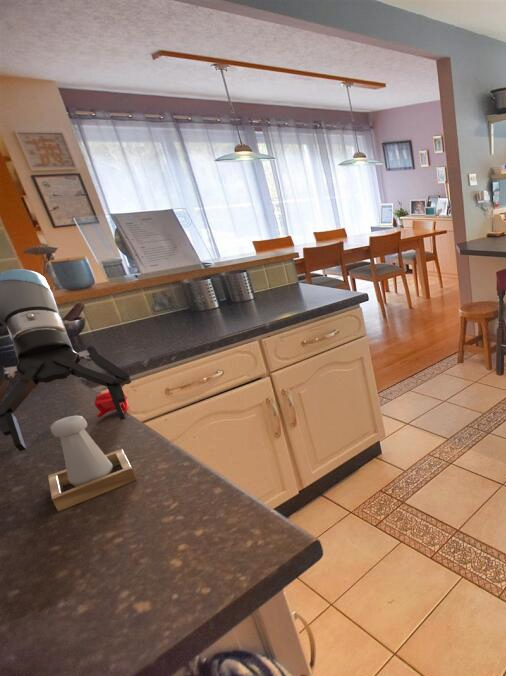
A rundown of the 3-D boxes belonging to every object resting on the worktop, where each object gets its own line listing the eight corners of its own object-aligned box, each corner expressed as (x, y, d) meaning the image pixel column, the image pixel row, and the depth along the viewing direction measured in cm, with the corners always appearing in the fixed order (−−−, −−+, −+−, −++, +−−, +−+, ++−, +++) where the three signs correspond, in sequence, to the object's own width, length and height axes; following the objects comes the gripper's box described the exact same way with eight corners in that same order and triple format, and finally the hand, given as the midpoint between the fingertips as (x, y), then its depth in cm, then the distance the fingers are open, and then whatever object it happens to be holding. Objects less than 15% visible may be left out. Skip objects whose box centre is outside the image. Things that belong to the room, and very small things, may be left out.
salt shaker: (80, 480, 79) (50, 417, 74) (120, 469, 81) (93, 407, 77) (68, 498, 74) (35, 432, 69) (111, 486, 76) (81, 421, 72)
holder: (53, 487, 77) (47, 475, 76) (126, 459, 84) (122, 448, 83) (58, 511, 71) (51, 499, 70) (136, 479, 78) (131, 467, 77)
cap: (100, 412, 105) (91, 390, 103) (132, 404, 109) (123, 382, 107) (96, 424, 99) (86, 401, 97) (130, 415, 102) (120, 392, 100)
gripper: (-70, 347, 74) (-40, 455, 69) (119, 312, 90) (155, 397, 85) (-50, 368, 79) (-20, 470, 74) (126, 332, 96) (160, 413, 91)
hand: (74, 431), depth 80 cm, fingers open, 13 cm apart
